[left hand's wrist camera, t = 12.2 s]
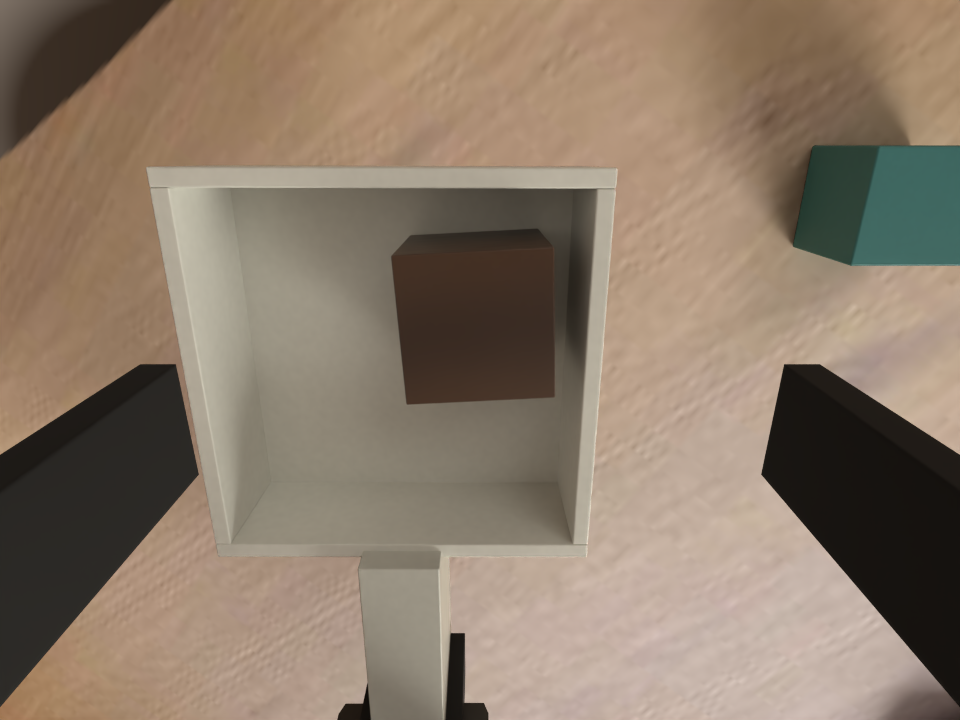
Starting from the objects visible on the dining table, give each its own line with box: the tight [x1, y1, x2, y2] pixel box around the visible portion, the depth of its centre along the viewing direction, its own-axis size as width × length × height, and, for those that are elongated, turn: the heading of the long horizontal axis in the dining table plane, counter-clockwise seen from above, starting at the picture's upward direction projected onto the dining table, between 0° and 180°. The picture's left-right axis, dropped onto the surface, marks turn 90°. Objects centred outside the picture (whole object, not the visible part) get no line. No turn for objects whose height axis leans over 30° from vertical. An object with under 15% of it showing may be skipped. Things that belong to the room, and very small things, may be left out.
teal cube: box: [793, 146, 960, 266], centre depth 26 cm, size 5×5×5 cm
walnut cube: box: [391, 229, 555, 405], centre depth 20 cm, size 5×5×5 cm
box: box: [146, 165, 617, 720], centre depth 23 cm, size 28×14×6 cm, turn 0°
